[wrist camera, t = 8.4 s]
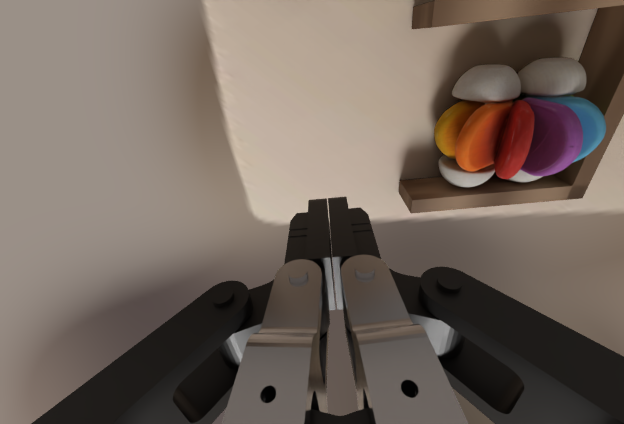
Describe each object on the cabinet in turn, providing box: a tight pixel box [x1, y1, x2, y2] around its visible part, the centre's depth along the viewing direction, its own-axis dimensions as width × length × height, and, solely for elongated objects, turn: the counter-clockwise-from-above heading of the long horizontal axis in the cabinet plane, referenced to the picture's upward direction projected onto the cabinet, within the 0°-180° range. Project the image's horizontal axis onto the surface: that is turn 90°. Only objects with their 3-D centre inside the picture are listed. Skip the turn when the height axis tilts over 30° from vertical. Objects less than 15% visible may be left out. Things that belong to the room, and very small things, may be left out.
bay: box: [399, 0, 624, 213], centre depth 20 cm, size 13×14×4 cm
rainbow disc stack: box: [434, 58, 606, 187], centre depth 19 cm, size 8×10×7 cm
